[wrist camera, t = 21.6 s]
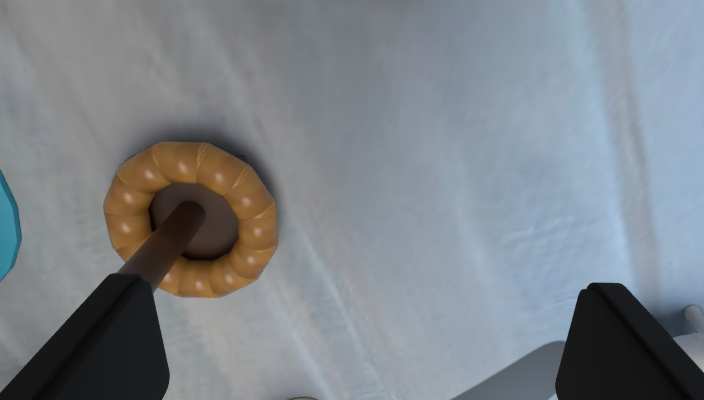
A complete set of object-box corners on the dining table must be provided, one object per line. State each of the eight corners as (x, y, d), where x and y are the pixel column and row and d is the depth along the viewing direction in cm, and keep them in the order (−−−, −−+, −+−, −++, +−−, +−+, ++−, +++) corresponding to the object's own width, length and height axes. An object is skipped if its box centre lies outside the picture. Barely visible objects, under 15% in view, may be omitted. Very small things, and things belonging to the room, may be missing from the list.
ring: (103, 134, 33) (79, 146, 30) (276, 139, 33) (269, 151, 30) (132, 281, 38) (115, 302, 36) (283, 285, 38) (277, 307, 36)
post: (133, 154, 35) (12, 233, 23) (246, 155, 35) (185, 234, 23) (153, 253, 39) (57, 367, 27) (255, 253, 39) (207, 368, 26)
